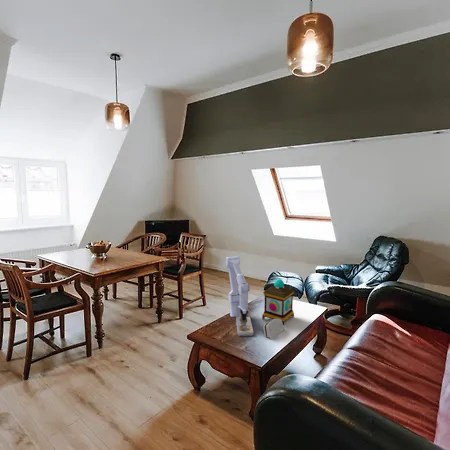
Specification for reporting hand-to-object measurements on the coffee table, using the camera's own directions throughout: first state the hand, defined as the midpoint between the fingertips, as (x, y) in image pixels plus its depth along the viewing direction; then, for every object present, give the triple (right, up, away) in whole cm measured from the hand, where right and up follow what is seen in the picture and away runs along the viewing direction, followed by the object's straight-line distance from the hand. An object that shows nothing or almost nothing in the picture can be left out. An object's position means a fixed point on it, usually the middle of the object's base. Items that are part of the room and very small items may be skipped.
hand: (243, 318), depth 210 cm
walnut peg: (0, -3, +1) cm, 3 cm away
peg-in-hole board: (0, -4, -5) cm, 7 cm away
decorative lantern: (+26, -3, +8) cm, 27 cm away
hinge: (+19, -6, -13) cm, 24 cm away
